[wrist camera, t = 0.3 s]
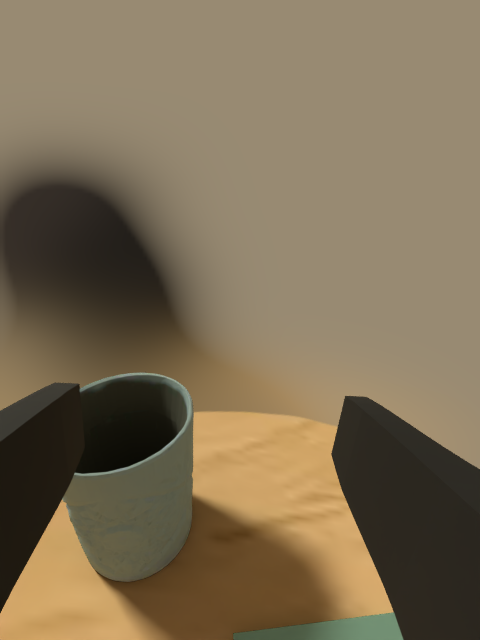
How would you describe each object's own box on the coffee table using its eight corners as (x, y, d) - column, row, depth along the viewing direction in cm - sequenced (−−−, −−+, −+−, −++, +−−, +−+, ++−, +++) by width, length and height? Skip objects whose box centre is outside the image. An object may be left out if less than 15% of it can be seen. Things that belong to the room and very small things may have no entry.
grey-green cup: (150, 459, 33) (133, 359, 28) (227, 512, 28) (223, 399, 23) (51, 543, 26) (5, 425, 21) (131, 637, 20) (94, 508, 15)
